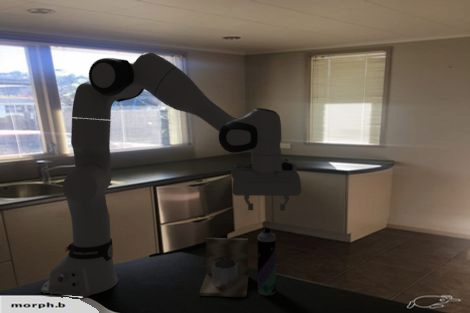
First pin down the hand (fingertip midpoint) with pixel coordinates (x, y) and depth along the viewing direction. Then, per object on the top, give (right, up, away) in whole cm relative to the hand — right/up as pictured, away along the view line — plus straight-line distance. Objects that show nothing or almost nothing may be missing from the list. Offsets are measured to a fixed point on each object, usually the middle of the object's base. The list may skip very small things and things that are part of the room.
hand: (266, 210), depth 105 cm
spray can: (0, -25, +3) cm, 26 cm away
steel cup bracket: (-12, -24, +7) cm, 28 cm away
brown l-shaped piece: (-12, -25, +7) cm, 29 cm away
